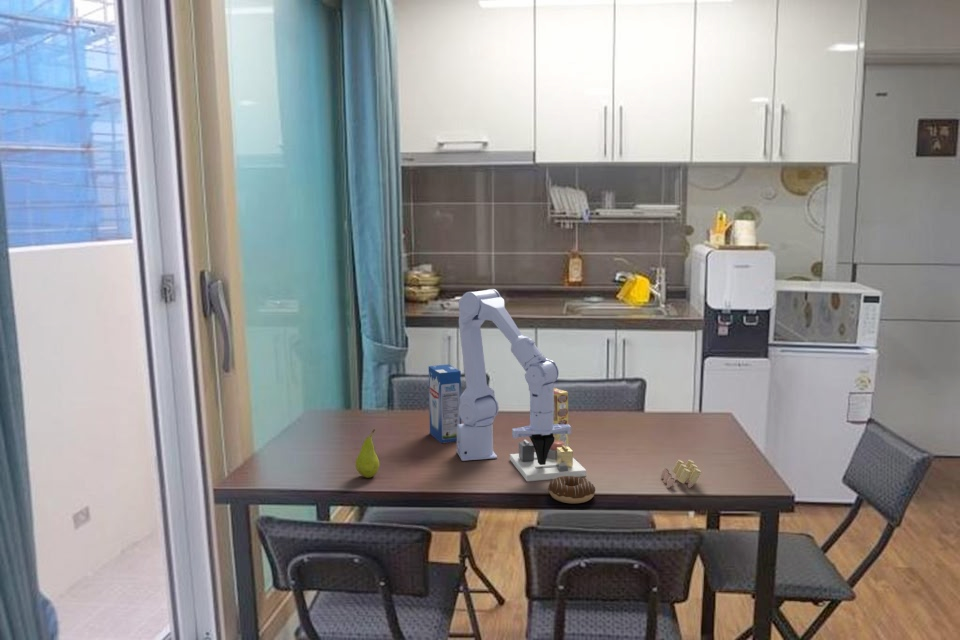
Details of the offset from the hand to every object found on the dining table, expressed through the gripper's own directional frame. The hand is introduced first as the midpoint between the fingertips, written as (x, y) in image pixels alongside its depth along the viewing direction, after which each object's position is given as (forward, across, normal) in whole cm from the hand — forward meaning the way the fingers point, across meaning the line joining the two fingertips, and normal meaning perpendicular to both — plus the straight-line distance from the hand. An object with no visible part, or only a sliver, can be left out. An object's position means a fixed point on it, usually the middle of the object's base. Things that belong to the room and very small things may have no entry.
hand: (541, 463), depth 187 cm
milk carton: (+3, -18, +35) cm, 39 cm away
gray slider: (+1, -2, +6) cm, 7 cm away
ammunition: (+3, +30, -14) cm, 33 cm away
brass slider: (+1, +6, 0) cm, 6 cm away
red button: (0, +6, +7) cm, 10 cm away
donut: (+3, +2, -16) cm, 16 cm away
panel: (+2, +2, +4) cm, 5 cm away
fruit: (+3, -42, +8) cm, 43 cm away
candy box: (+3, +10, +22) cm, 24 cm away
